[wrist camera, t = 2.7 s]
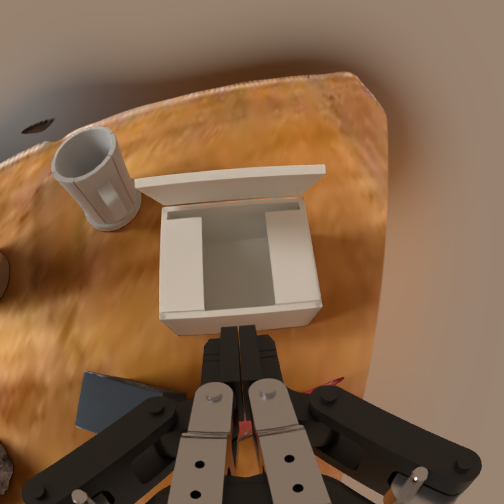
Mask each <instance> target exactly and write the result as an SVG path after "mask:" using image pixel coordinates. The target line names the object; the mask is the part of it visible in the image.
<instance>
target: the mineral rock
mask: <svg viewBox="0 0 504 504" xmlns="http://www.w3.org/2000/svg"><path fill="white" fill-rule="evenodd" d="M12 473H13V463H12V461H11V460H10V459H9V458H8V456H7V453H6V451H5V449H4V447H3V446H2V445H1V444H0V495H1V494H2V495H4V492H5V491H6V490H8V486H9V480H10V478H11V475H12Z"/></svg>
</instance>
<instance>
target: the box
mask: <svg viewBox="0 0 504 504" xmlns="http://www.w3.org/2000/svg"><path fill="white" fill-rule="evenodd" d="M155 396H162V397H166V398H168V399H170V400H171V401H172V402H173V403H174V404H175V403H179V402H183V401H186V393H182V392H177V391H173V390H168V389H164V388H159V387H155V386H151V385H147V384H143V383H139V382H137V381H132V380H129V379H125V378H119V377H114V376H109V375H103V374H98V373H94V372H90V371H85V372H84V376H83V381H82V387H81V392H80V398H79V404H78V410H77V416H76V422H75V425H76V427H77V428H81V429H84V430H87V431H90V432H93V433H95V434H98V433H100V432H101V431H103V430H104V429H106V428H107V427H108V426H110V425H111V424H113V423H114V422H115V421H117V420H118V419H120V418H121V417H122V416H124V415H125V414H127V413H128V412H129V411H131V410H132V409H133V408H135V407H136V406H138V405H139V404H140V403H142V402H143V401H145V400H146V399H148V398H151V397H155Z"/></svg>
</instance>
